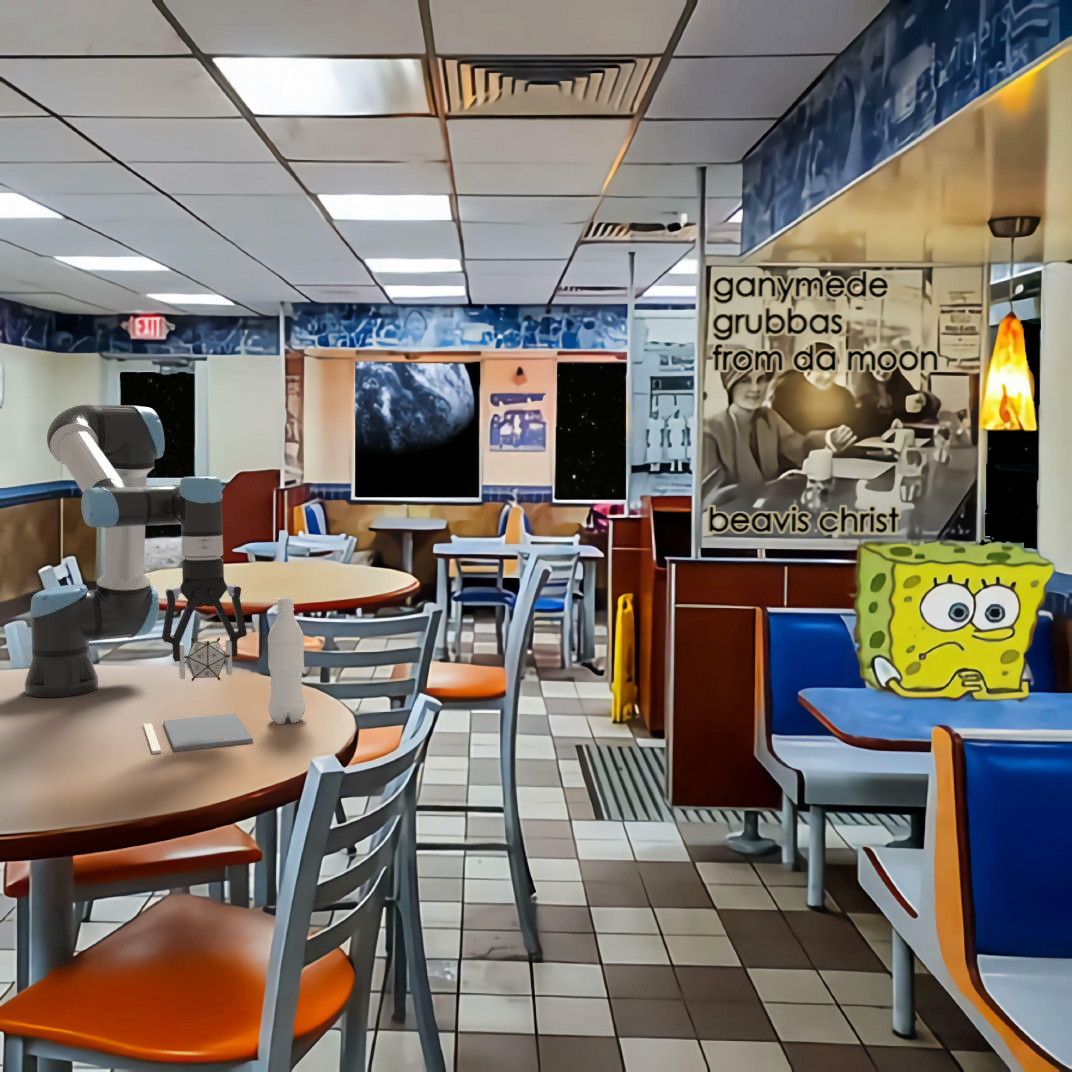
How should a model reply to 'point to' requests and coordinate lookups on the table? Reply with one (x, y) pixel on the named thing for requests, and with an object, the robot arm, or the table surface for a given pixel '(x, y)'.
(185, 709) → the table surface
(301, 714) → the water bottle
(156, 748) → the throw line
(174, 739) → the mat
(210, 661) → the game die
